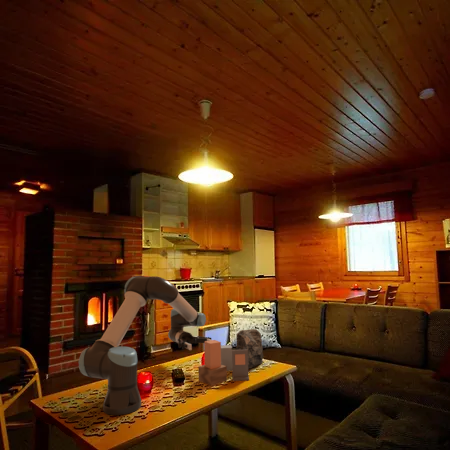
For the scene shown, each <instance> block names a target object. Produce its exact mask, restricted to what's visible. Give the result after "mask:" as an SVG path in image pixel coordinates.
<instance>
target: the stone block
mask: <svg viewBox="0 0 450 450" xmlns="http://www.w3.org/2000/svg"><path fill="white" fill-rule="evenodd" d="M262 344H263V341H262V336H261V333H260V331H259V330H258V329H256V328H254V329H253V328H250V329H241V330H239V331H238V332H237V333H236V347H235V350H246V349H248V369H253V368H255V367H257V366H258V365H259V366H260V365H261V364H263V363H264V361H263V358H264V353H263V351H264V350H263V349H264V347H263V345H262Z"/></svg>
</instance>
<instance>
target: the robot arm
mask: <svg viewBox="0 0 450 450" xmlns="http://www.w3.org/2000/svg"><path fill="white" fill-rule="evenodd" d="M123 291H124V298H125V299H124V300H123V302H122V304H121V305H120V307H119V308H118V310H117V312H116V313H115V315H114V317H113V318H112V320H111V321H110V324H109V325H108V327H107V328H106V330H105V331H104V332H103V335H102V336H101V337H100V339H97V340H95V342H94V343H93V344H92V345H91V346H90V347H86V348H85V349H83V350H82V351H81V353H80V356H79V358H78V368H79V372H80V373H81V375H83V376H86V377H89V378H94V379H100V380H101V379H102V380H107V391H106V395H105V398H104V401H103V406H102V411H103V413H104V414H107V415H111V416H119V415H121V416H122V415H127V414H131V413H133V412H135V411H137V410H139V409H141V407H142V398H141V395H140V391H139V388H138V360H139V359H138V355H137V354H138V353H137V351H136V349H134V348H133V347H130V346H121V345H120V344H121V342H122V340H123V338H124V337H125V335H126V333H127V332H128V330H129V328H130V326H131V324H132V323H133V321H134V319H135V317H137V314H138V312H139V310H140V308H142V307H144V306H146V304H147V302H148V300H157V301H161V302H163V303H164V304H166V305H167V304H168V305H169V306H170V307H172V309H171V310H170V329H169V330H168V333H167V335H168V336H167V337H168V338H169V340H170V341H172V342H175V343H177V345H178V349H182V350H185V349H187V350H189V351H192V350H193V346H192V345H193V344H195V345H197V344H205V342H204V341H211V340H213V339H212V337H209V336H208V337H206V336H200V335H197V336H194V335H193V334H192V333H191V332H188V331H185V330H184V326H188V327H197V328H198V327H203V326H205V325H206V322H207V319H206V314H204V313H202V312H198V311H197V310H196V309H195V308H194V307H193V306H192V305H191V304H190V303H189V302H188V301H187V300H186V299H185V298H184V297H183V295H182V294H180V293H179V290H178V288H177V287H176V286H175V285H174V284H173V283H172V282H170V281H168V280H167V279H165V278H164V277H161V276H156V275H155V276H144V275H143V276H142V275H141V276H140V275H137V276H132V277H130V278H128V280H127V281H126V282H125V285H124V289H123Z"/></svg>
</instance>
